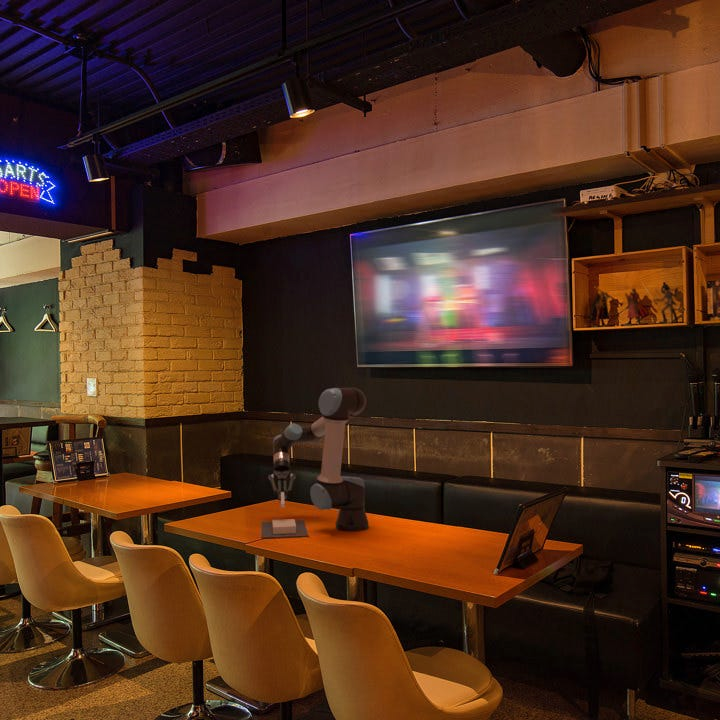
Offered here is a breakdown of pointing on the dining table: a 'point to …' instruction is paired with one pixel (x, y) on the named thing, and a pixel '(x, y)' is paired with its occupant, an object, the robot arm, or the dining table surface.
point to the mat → (268, 534)
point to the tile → (284, 526)
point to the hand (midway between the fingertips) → (282, 505)
